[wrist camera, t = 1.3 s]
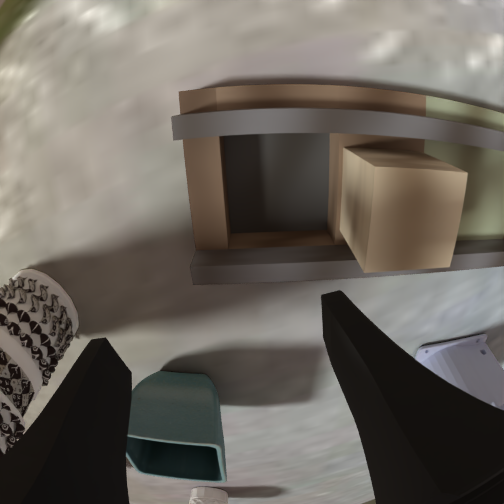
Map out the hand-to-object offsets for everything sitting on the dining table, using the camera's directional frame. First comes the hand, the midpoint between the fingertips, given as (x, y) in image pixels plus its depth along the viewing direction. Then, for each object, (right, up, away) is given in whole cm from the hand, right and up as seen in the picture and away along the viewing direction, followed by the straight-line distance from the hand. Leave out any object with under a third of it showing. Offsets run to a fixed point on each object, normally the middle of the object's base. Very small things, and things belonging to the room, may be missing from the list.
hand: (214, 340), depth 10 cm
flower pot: (-5, -11, +20) cm, 23 cm away
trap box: (+13, +8, +10) cm, 18 cm away
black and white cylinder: (-19, -2, +15) cm, 24 cm away
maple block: (+9, +6, +7) cm, 13 cm away
